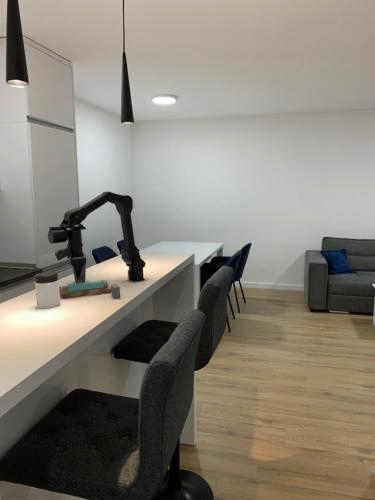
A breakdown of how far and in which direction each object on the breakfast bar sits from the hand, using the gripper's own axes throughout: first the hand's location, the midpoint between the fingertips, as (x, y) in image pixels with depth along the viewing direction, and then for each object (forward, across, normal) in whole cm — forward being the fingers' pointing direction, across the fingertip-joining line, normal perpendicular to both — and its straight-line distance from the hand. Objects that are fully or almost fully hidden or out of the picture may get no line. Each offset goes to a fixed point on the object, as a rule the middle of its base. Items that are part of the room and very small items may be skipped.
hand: (77, 277), depth 169 cm
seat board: (+6, +2, +2) cm, 7 cm away
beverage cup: (+6, -17, +2) cm, 18 cm away
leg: (+4, +7, +3) cm, 8 cm away
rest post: (+6, +16, +13) cm, 21 cm away
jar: (+6, +16, -13) cm, 21 cm away
